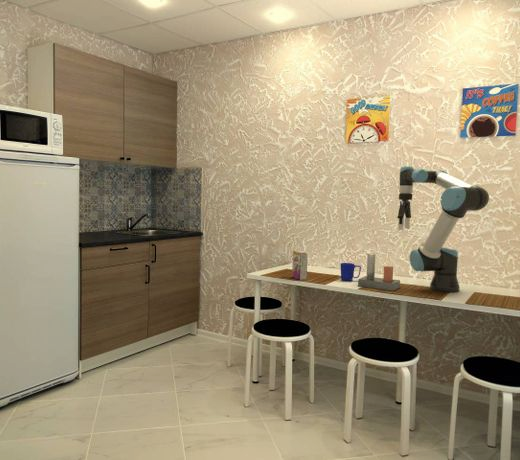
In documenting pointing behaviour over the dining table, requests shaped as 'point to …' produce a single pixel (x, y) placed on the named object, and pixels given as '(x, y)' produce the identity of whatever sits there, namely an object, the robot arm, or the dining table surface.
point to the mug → (348, 271)
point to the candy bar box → (299, 265)
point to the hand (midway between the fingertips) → (403, 229)
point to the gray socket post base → (375, 282)
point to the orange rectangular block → (388, 274)
